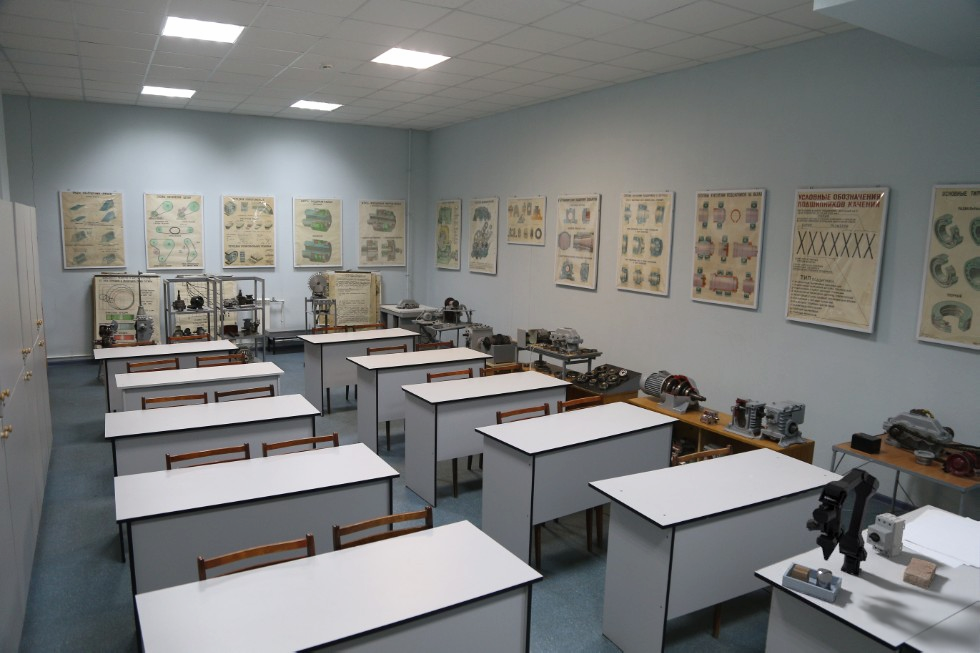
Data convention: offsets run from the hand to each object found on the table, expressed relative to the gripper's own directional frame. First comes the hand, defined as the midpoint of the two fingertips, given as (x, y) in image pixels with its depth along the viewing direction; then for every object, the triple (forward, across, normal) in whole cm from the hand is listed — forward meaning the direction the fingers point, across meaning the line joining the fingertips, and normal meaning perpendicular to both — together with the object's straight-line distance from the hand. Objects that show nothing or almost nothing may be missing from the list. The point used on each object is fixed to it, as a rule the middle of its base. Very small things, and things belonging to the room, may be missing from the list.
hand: (828, 555), depth 241 cm
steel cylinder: (+12, +4, 0) cm, 13 cm away
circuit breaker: (+13, -46, +12) cm, 49 cm away
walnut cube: (+12, +4, -8) cm, 15 cm away
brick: (+13, -32, +27) cm, 44 cm away
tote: (+12, +4, -4) cm, 14 cm away
